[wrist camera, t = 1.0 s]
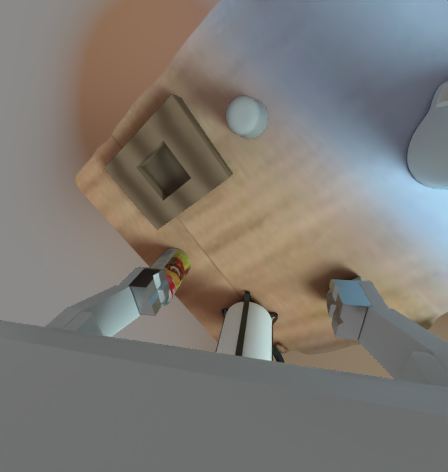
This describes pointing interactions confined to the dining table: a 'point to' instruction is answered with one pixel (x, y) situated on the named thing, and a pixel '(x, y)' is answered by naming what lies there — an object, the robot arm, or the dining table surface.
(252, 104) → the salt shaker
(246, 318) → the coffee press
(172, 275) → the canned food
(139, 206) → the walnut holder
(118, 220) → the dining table surface
